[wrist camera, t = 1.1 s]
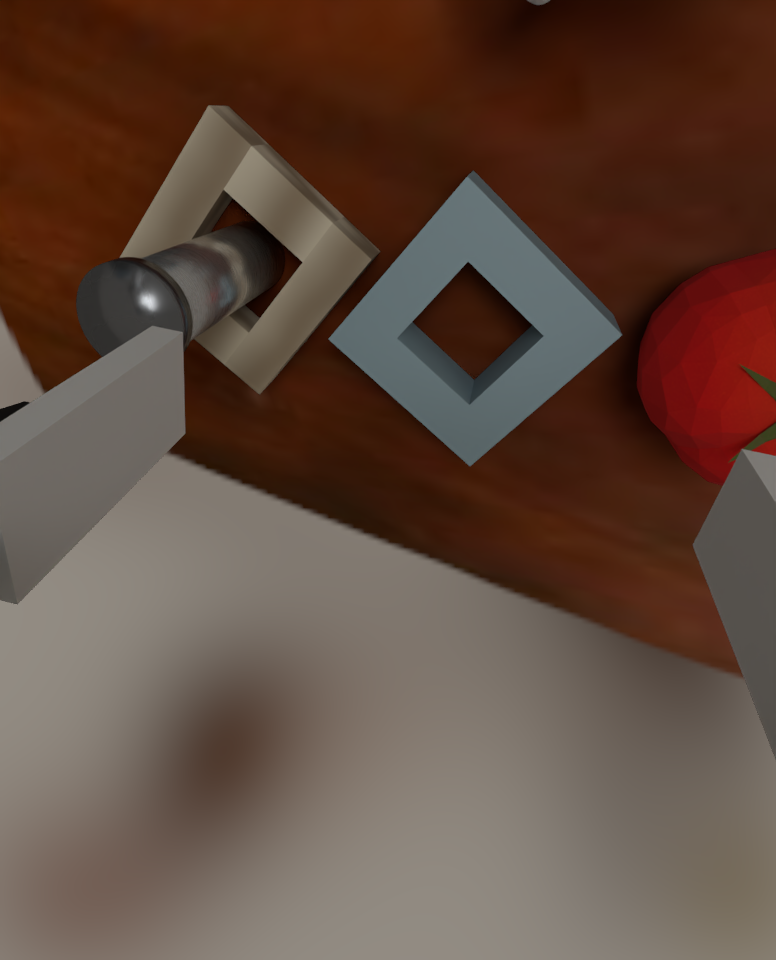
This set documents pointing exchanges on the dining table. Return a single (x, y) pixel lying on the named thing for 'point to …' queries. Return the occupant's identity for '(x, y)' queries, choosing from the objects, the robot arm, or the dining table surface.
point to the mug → (538, 1)
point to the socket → (520, 279)
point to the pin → (179, 286)
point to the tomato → (714, 365)
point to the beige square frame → (282, 211)
